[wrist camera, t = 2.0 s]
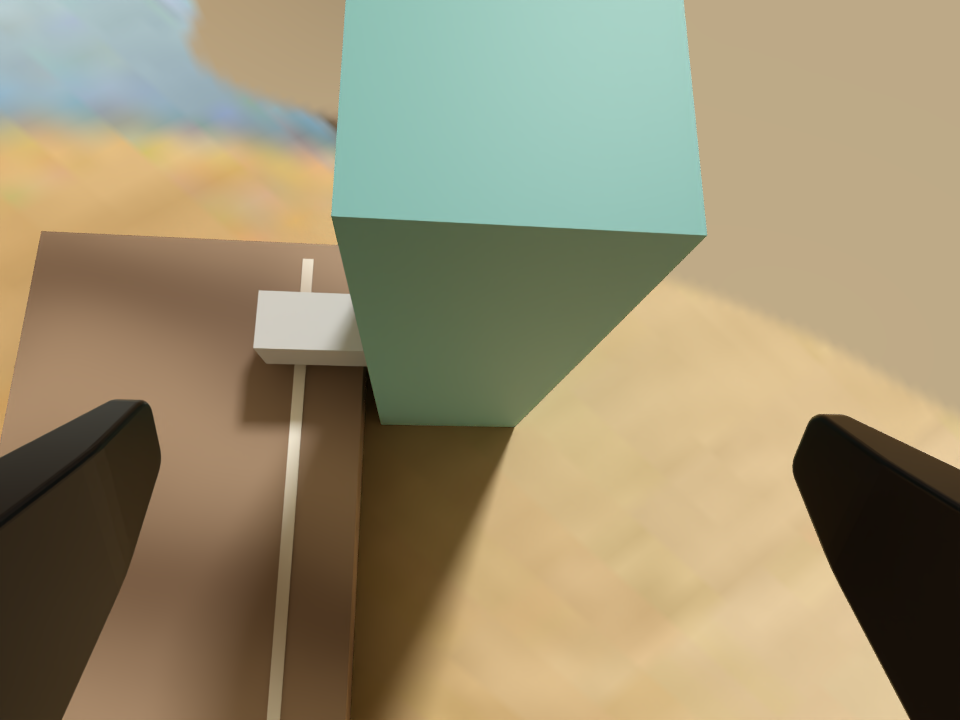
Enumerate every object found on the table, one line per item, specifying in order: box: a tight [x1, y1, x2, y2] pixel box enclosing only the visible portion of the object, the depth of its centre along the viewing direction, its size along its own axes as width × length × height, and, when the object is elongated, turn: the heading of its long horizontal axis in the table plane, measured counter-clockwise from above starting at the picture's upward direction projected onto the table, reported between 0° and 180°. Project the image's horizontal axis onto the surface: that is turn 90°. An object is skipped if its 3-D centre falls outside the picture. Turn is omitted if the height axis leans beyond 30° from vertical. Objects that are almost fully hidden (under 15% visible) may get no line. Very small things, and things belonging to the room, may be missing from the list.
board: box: [0, 231, 367, 720], centre depth 16 cm, size 20×9×2 cm, turn 0°
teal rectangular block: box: [253, 0, 707, 427], centre depth 13 cm, size 4×7×13 cm, turn 90°
